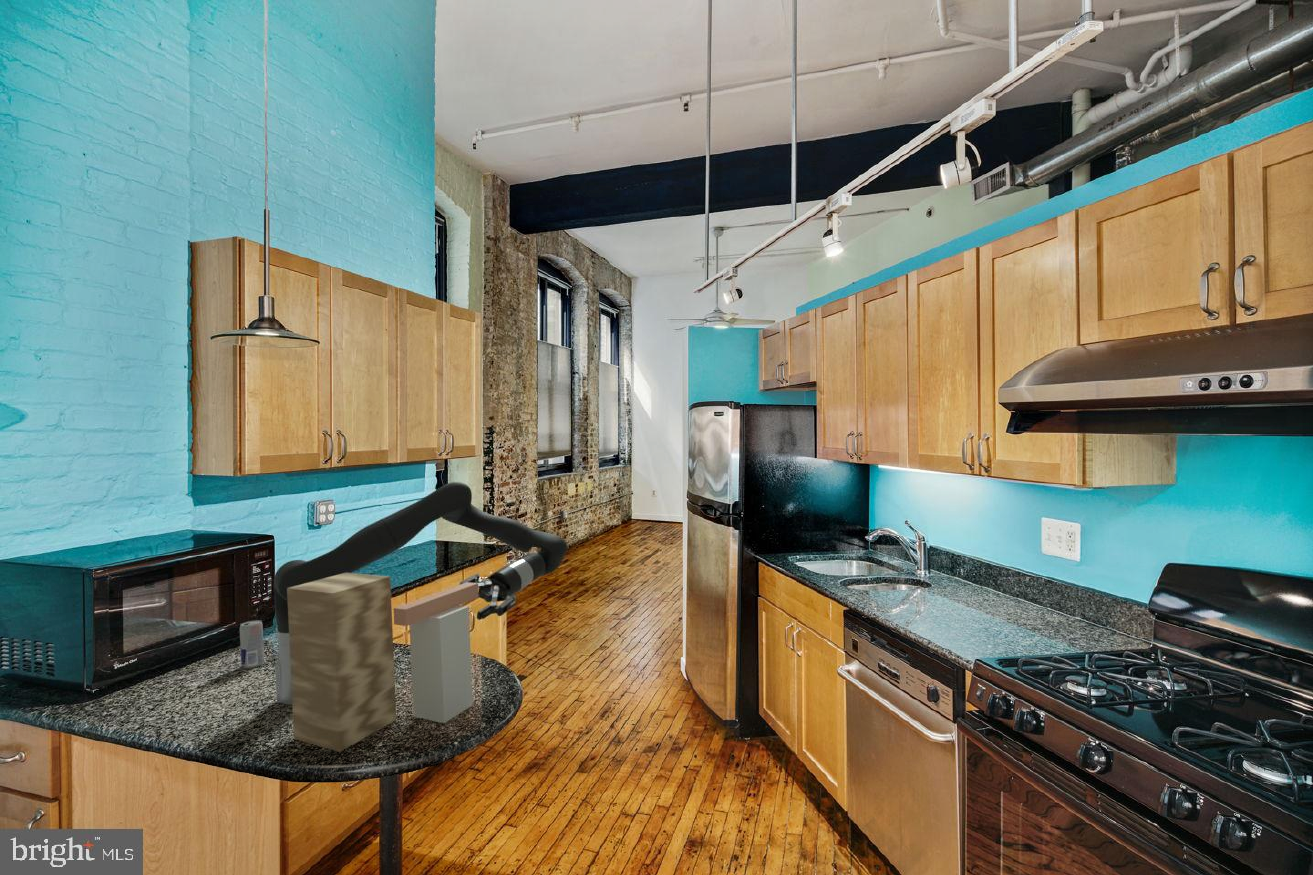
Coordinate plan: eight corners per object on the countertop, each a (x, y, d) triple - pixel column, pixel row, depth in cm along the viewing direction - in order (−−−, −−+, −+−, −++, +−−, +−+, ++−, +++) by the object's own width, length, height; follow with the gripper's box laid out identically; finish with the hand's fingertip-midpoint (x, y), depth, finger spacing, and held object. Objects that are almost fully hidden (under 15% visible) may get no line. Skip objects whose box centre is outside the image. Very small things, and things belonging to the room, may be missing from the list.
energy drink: (248, 662, 171) (246, 620, 171) (268, 660, 171) (266, 619, 171) (237, 669, 165) (235, 626, 165) (257, 668, 166) (255, 625, 166)
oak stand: (352, 709, 138) (346, 572, 137) (396, 719, 132) (390, 576, 132) (294, 739, 125) (286, 588, 125) (340, 751, 119) (332, 593, 119)
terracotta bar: (467, 596, 146) (466, 582, 146) (478, 597, 145) (477, 583, 145) (394, 624, 126) (393, 607, 126) (406, 626, 125) (405, 609, 125)
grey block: (443, 699, 141) (438, 603, 141) (472, 705, 138) (468, 606, 137) (413, 716, 133) (409, 614, 133) (444, 723, 130) (439, 618, 129)
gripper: (493, 555, 158) (445, 582, 144) (534, 578, 152) (488, 609, 139) (490, 578, 161) (443, 607, 147) (531, 602, 155) (485, 634, 141)
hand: (465, 608), depth 143 cm, fingers open, 8 cm apart
